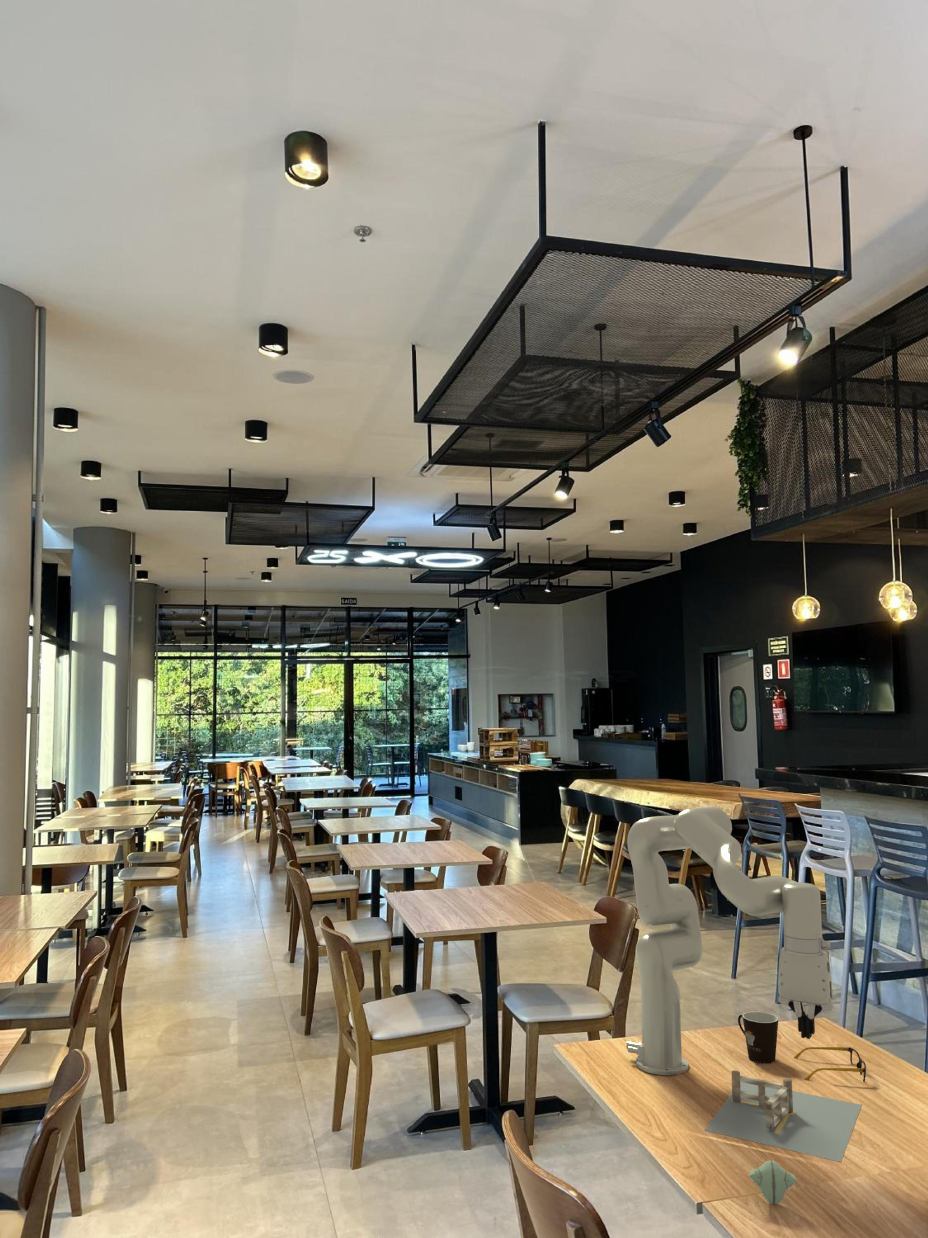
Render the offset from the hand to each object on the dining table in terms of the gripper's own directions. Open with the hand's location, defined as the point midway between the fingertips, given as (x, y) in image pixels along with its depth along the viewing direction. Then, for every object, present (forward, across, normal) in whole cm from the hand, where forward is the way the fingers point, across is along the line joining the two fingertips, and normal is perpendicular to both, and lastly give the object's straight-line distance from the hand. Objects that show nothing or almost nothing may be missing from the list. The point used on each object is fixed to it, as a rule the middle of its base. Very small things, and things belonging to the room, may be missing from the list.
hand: (806, 1036), depth 184 cm
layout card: (+19, +6, -5) cm, 21 cm away
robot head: (+19, +1, +31) cm, 37 cm away
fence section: (+19, +11, -8) cm, 23 cm away
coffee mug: (+19, +19, -39) cm, 47 cm away
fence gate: (+18, +7, -1) cm, 19 cm away
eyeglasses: (+20, +2, -38) cm, 43 cm away
